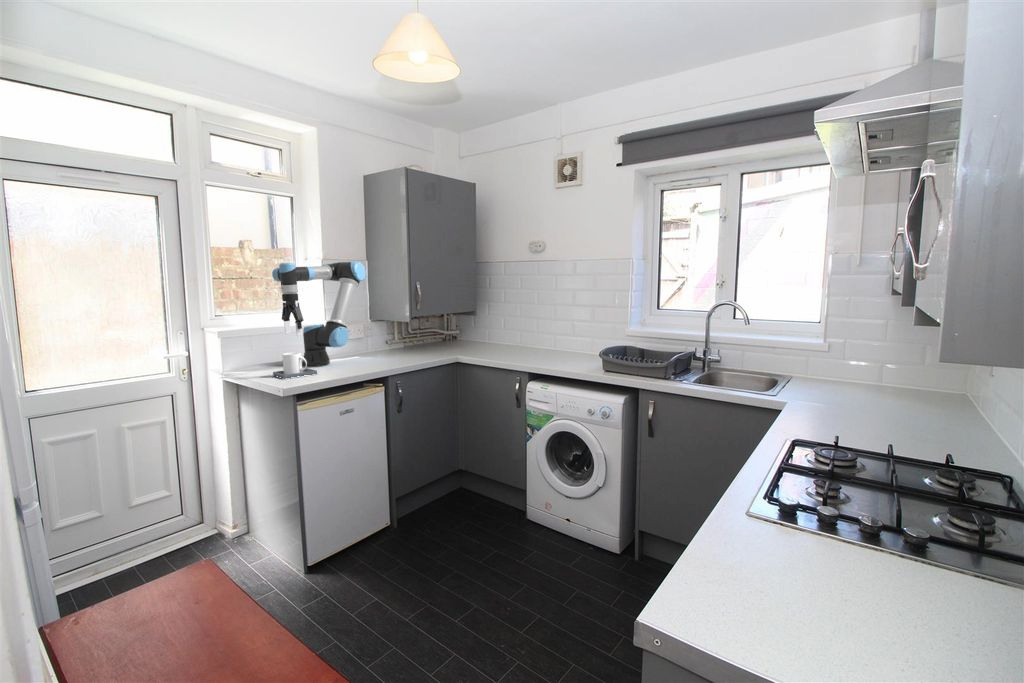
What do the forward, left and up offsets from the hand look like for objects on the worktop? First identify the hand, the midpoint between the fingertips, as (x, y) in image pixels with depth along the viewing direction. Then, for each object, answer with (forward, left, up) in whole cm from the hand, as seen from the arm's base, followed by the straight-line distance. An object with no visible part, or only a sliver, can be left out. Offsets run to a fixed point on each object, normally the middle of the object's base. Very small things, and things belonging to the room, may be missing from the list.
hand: (293, 334), depth 249 cm
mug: (+2, +4, -20) cm, 21 cm away
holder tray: (+2, +3, -21) cm, 21 cm away
